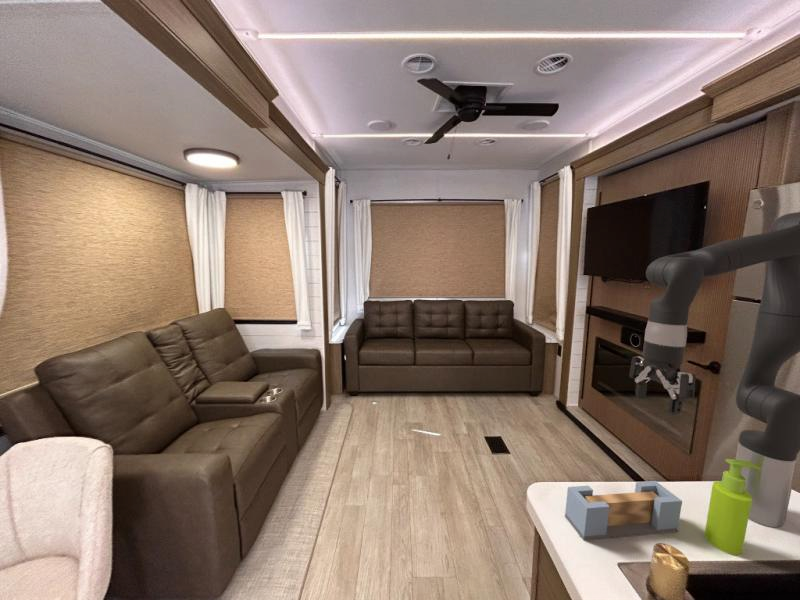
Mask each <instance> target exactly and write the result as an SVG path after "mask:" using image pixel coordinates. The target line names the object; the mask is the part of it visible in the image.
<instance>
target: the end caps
mask: <svg viewBox="0 0 800 600" xmlns="http://www.w3.org/2000/svg"><path fill="white" fill-rule="evenodd" d="M648 491H653V492H654V493H655V494H656V495H658V496H659V497H655V500H654V508H653V515H652V522H650V523H639V524H627V525H615V526H607V524H608V516H609V507H610V506H609V505H608V504H607V503H606V502H605V501H603V502H589V503H588V502H587V501H586V499H585V496H593V495H594V490H593V488H591V486H590V485H576V486H568V487H567V493H566V502H565V512H564V518H565V519H566V521H568V522H569V524H570V525H571V526H572V527H573V529H574V530H575V531H576V533H577V535H579V537H580V538H581V539H582V540H583V541H592V540H603V539H612V538H622V537H623V538H624V537H634V536H637V537H638V536H646V535H647V536H648V535H657V534H667V533H677V532H678V531H679V525H680V519H681V517H680V516H681V512H682V511H681V510H682V504H683V500H682V499H681V498H679V497H678V496H677V495H675V494H674V493H673V492H671V491H670V490H668V489H667V488H666V487H664V486H663V485H662V484H661V483H659V482H658V481H656V480H652V481H651V480H649V481H636V482H635V489H634V493H635V492H648Z"/></svg>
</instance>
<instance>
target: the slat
mask: <svg viewBox="0 0 800 600" xmlns="http://www.w3.org/2000/svg"><path fill="white" fill-rule="evenodd" d="M655 497H659V496H658V495H656V494H655V493H654V492H653V491H648V492H635V491H634V492H626V493H625V492H623V493H621V492H620V493H610V494H609V493H608V494H593V496H585V499H586V501H587V502H588V503H589V502H603V501H605V502H606V503H607V504H608V505H609V506H610V507H609V516H608V524H607V526H615V525H627V524H639V523H650V522H652V515H653V508H654V500H655Z"/></svg>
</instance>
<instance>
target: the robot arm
mask: <svg viewBox="0 0 800 600" xmlns="http://www.w3.org/2000/svg"><path fill="white" fill-rule="evenodd" d="M765 262H766V265H765V275H764V283H763V288H762V293H761V300H760V304H759V307H758V310H757V311H758V312H757V315H756V320H755V321H756V322H755V327H754V334H753V338H752V343H751V347H750V352H749V355H748V359H747V362H746V365H745V367H744V370H743V373H742V376H741V379H740V381H739V384H738V387H737V390H736V394H735V395H736V396H735V404H736V407H737V408H738V410H739V411H740V413H741V412H742V414H744V415H745V416H749V417H751V418H752V419H755V420H757V421H760V422H762V423H764V424H766V426H765V429H764V431H762V430H755V429H745V430H742V431H740V433H739V437H738V442H737V448H736V455H735V459H739V460H745V461H749V462H752V463H754V464H756V465H757V466H759V467H760V468H762V470H757V469H753V468H746V467H742V470H741V476H743V477H744V478H745V479H746V483H745V488H744V490H745V491H746V492H748V493H749V494H750V495H751V497H752V501H751V507H750V512H749V518H748V520H750V521H752V522H755V523H757V524H761V525H763V526H767V527H771V528H781V527H783V525H784V522H785V521H786V519H787V514H788V509H789V506H790V505H789V504H790V499H791V494H792V489H793V487H792V482H793V477H794V476H793V475H794V471H795V467H796V461H797V457H798V454H799V453H800V394H799V393H797V392H796V393H795V392H793V391H790V390H787V389H784V388H780V387H777V386H775V383H776V379H777V375H778V373H779V371H780V369H781V367H782V366H783V365H784V364H785V363H786V362H787V361H788V360H790V359H791V358H792V357H794V356H796V355H797V354H799V353H800V211H797V212H792V213H791V212H790V213H786V214H784V215H781V216H779V217H778V218H776V220H774V221H773V223H772V225H771V227H770V229H769V231H767V232H764V233H758V234H754V235H753V234H752V235H749V236H743V237H737V238H733V239H728V240H723V241H721V242H717V243H714V244H711V245H708V246H704V247H702V248H699V249H695V250H690V251H684V252H679V253H675V254H670V255H665V256H662V257H659V258H656V259H655V260H653V261H652V262H650V264H649V265H648V266H647V267H646V271H645V276H646V279H647V280H648V281H649V283H651V284H653V285H654V286H658V287H665V288H666V290H665V292H664V294H663V295H662V296H659V297H655V298H654V297H653V299H652V300H650V304H649V310H648V318H647V324H646V327H645V330H644V341H643V347H642V348H643V349H642V356H639V355H638V356H636V355H635V356H632V358H631V363H630V368H629V376H628V377H629V378H630V379H633V380H634V382H635V383H636V384H635V390H634V393H635V397H636V398H638V399H645V398H646V397H647V390H648V382H649V381H655V382H657V383H658V384H660V385H662V386H663V388H664V390H667V392H668V394H669V396H670V398H669V402H668V410H667V412H668V413H669V414H671V415H679V414H681V412H682V410H683V403H684V401H693V400H694V399H695V391H696V390H695V389H696V381H697V377H696V374H695V373H693V372H692V373H687V372H684V371H683V372H682V370H681V366H682V364H683V363H684V360H685V352H686V344H687V338H688V328H687V327H688V319H689V312H690V307H691V305H692V304H693V301H694V299H695V297H696V296H697V294H698V292H699V289H700V287H701V286H702V283H703V281H704V278H710V277H716V276H720V275H723V274H726V273H731V272H733V271H736V270H740V269H743V268H747V267H752V266H754V265H758V264H762V263H765ZM672 383H673V384H672Z"/></svg>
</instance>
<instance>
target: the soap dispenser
mask: <svg viewBox="0 0 800 600" xmlns="http://www.w3.org/2000/svg"><path fill="white" fill-rule="evenodd" d="M725 463H727V464H729V470H723V472H722V477H721V480H715V481H713V483H712V486H711V493H710V500H709V506H708V511H707V512H708V513H707V515H706V516H707V517H706V524H705V529H704V537H705V539H706V541H708V542H709V543H710V545H712V546H713V547H715V548H717V549H718V550H720V551H721V552H724V553H727V554H729V555H733V556H741V555H742V554H743V550H744V549H743V548H744V544H745V539H746V538H745V537H746V533H747V528H748V522H749V519H748V518H749V512H750V507H751V501H752V497H751V495H750V494H749V493H748V492H746V491H745V490H744V488H745V483H746V479H745V478H744V477H743V476H741V470H742V467H746V468H753V469H757V470H762V468H760V467H759V466H757V465H756V464H754V463H752V462H749V461H745V460H739V459H736V458H725Z"/></svg>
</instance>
